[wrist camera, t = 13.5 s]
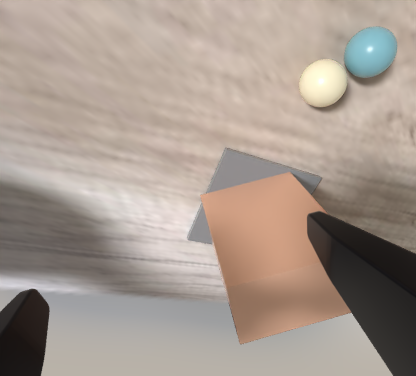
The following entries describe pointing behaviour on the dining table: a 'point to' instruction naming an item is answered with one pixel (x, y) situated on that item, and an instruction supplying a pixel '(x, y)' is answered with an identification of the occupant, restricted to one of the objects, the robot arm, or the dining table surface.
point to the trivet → (243, 182)
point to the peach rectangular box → (269, 257)
